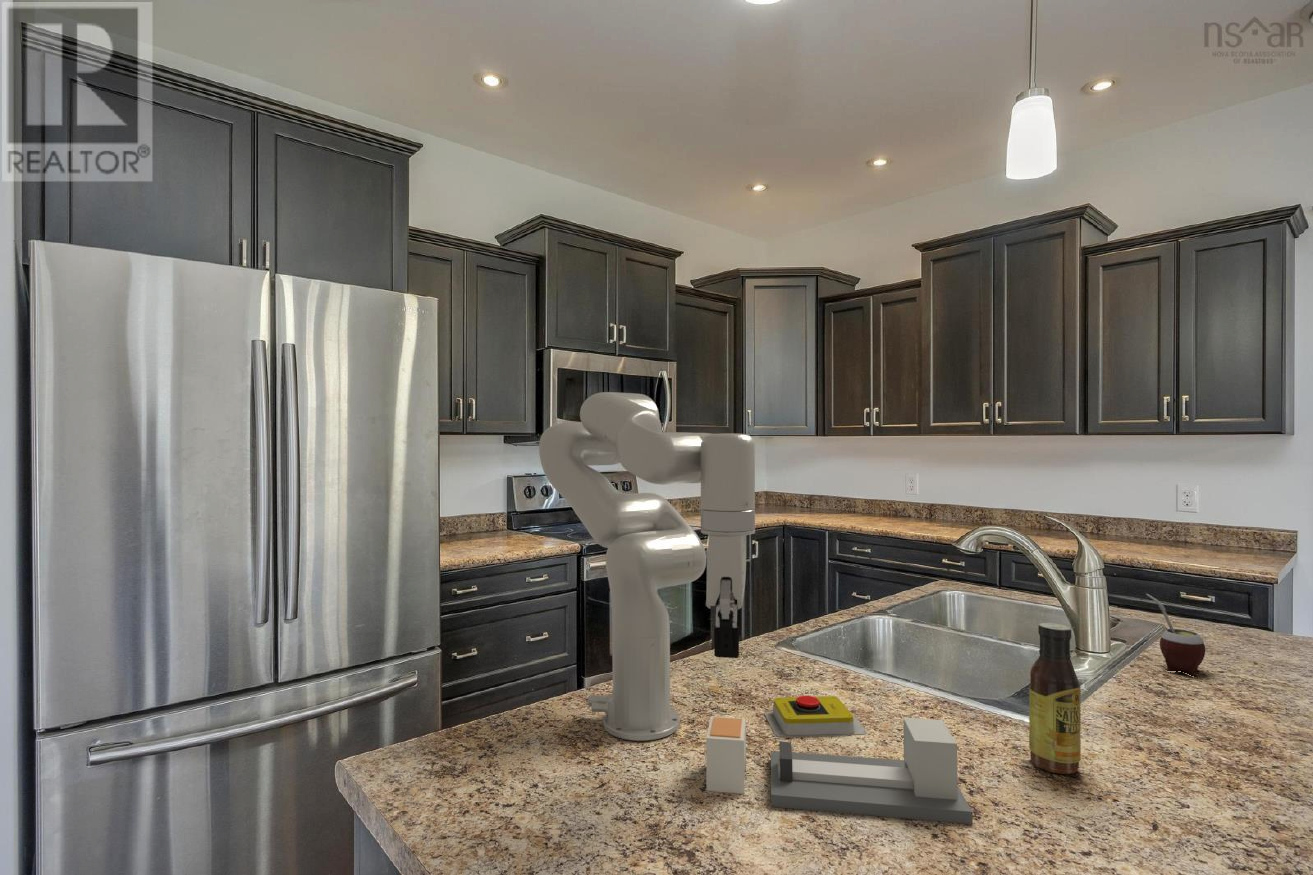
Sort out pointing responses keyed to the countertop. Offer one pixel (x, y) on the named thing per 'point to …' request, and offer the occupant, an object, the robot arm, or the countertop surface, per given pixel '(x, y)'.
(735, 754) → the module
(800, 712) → the emergency button
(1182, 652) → the mate gourd
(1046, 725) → the sauce bottle
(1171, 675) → the countertop surface
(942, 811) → the rail board
